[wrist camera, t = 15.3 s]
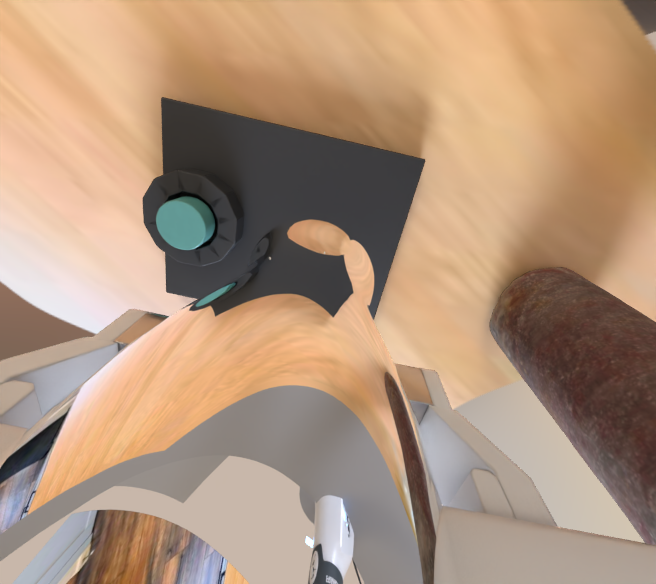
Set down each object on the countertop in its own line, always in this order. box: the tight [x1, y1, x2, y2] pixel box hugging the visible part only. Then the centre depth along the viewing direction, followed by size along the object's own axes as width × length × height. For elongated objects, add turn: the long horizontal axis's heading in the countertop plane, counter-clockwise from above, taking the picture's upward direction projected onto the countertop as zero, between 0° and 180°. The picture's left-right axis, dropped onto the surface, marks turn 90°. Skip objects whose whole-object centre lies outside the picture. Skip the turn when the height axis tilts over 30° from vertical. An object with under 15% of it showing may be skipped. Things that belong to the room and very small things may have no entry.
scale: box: [143, 97, 425, 320], centre depth 21 cm, size 16×13×3 cm
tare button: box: [156, 196, 215, 250], centre depth 19 cm, size 3×3×2 cm
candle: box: [490, 267, 656, 545], centre depth 15 cm, size 8×7×20 cm
